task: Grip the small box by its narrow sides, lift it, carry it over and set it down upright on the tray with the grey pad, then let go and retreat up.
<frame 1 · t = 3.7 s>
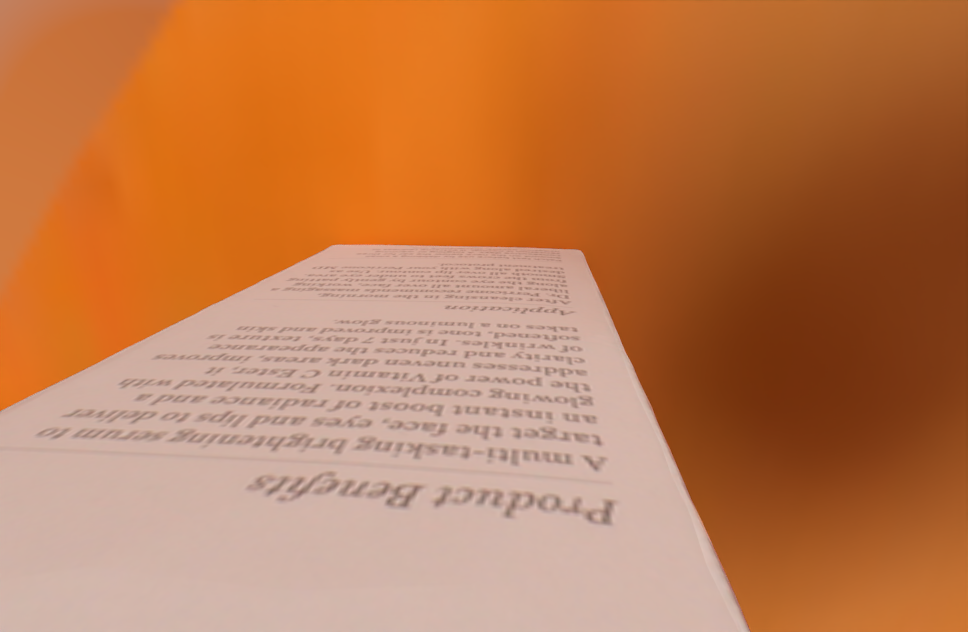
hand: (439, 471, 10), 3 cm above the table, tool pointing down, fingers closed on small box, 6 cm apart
small box: (460, 403, 13), on the table, touching gripper
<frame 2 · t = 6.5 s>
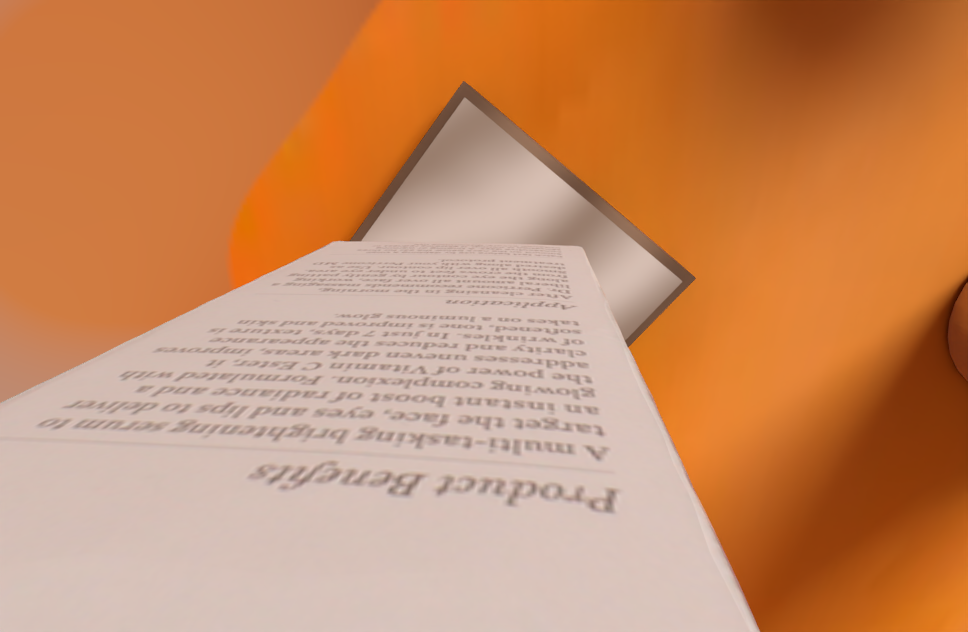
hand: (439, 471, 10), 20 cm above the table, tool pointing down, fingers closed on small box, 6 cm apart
tray: (492, 282, 30), on the table
small box: (460, 400, 13), point 17 cm above the table, touching gripper
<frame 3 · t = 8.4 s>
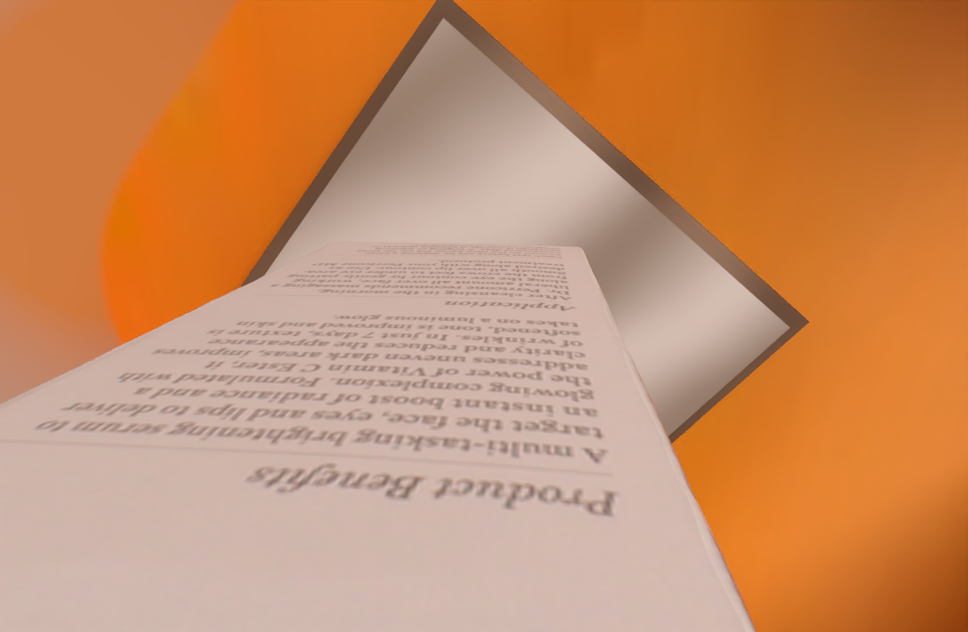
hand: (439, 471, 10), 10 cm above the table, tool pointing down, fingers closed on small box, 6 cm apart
tray: (486, 316, 20), on the table
small box: (460, 400, 13), point 7 cm above the table, touching gripper
when the fingers open (7 cm above the table, at t = 9.6 s): small box drops 1 cm, resting on tray.
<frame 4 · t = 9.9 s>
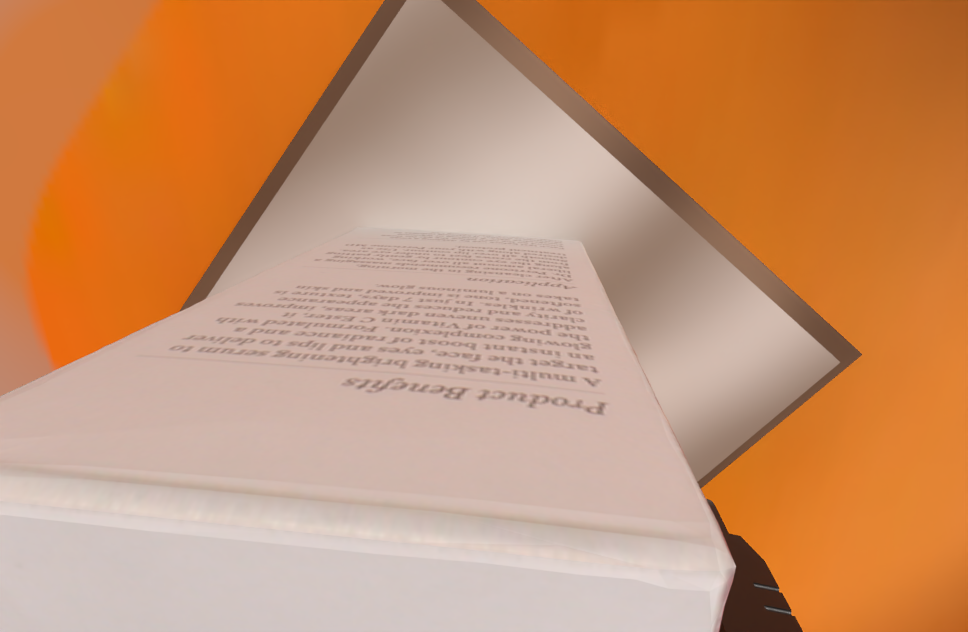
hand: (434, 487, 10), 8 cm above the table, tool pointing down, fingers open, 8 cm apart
tray: (476, 340, 17), on the table
small box: (464, 376, 14), point 3 cm above the table, touching tray
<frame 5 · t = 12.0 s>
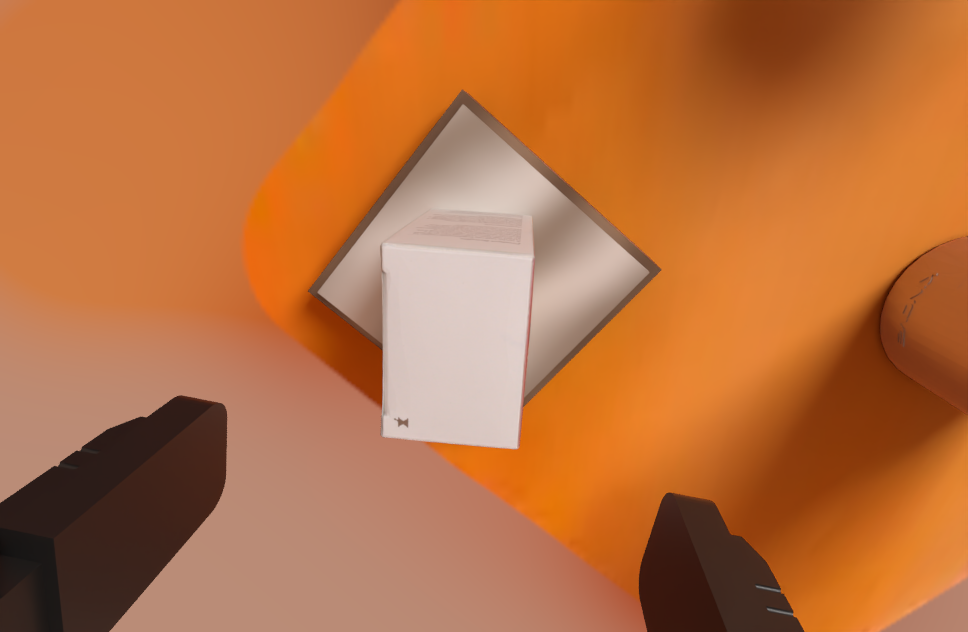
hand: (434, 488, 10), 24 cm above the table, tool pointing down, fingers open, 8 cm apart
tray: (482, 269, 33), on the table
small box: (478, 281, 30), point 3 cm above the table, touching tray
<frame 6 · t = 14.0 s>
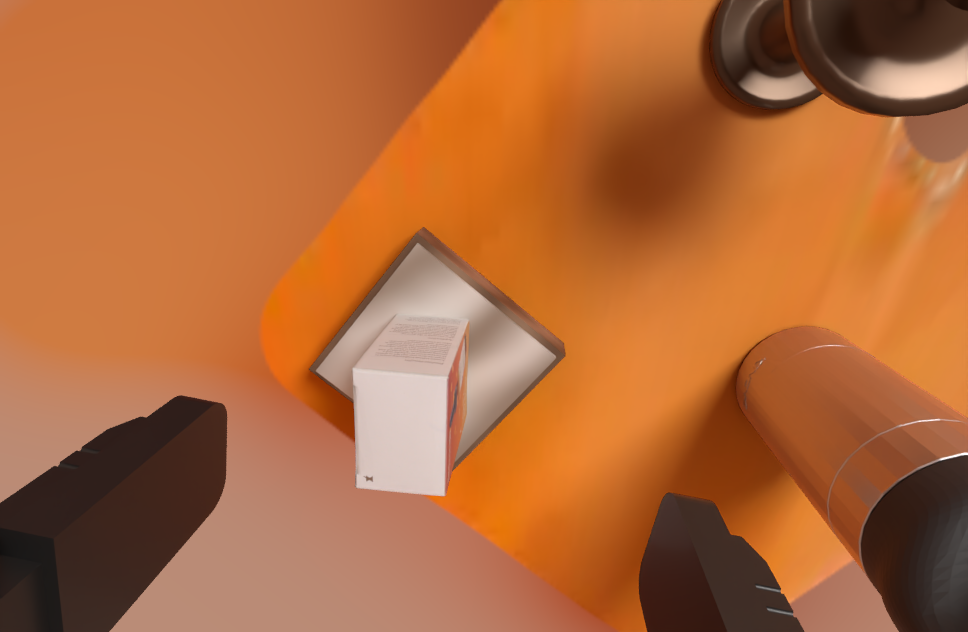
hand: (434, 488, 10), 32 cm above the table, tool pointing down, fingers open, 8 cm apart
candlestick: (781, 35, 35), on the table
tray: (439, 350, 44), on the table
small box: (432, 363, 41), point 3 cm above the table, touching tray
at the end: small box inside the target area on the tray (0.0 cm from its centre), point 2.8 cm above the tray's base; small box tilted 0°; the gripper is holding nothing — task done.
